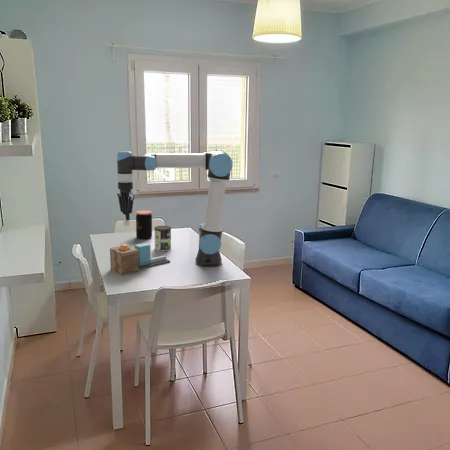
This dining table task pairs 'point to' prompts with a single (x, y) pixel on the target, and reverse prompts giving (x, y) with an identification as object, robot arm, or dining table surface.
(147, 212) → the coffee jar
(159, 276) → the dining table surface
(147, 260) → the block
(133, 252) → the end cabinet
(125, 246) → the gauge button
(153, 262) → the rail
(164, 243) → the coffee can
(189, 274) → the dining table surface
